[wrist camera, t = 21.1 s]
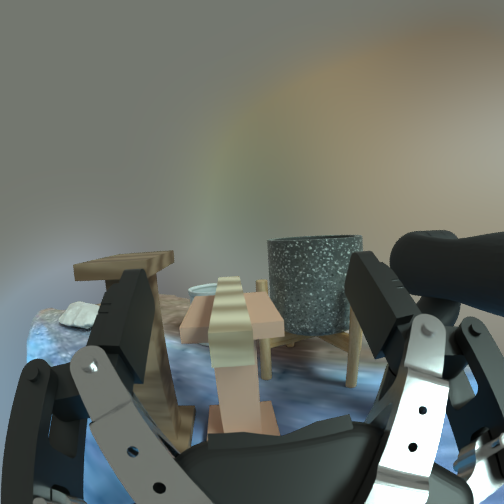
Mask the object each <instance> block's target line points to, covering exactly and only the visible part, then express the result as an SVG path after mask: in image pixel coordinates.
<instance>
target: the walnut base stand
mask: <svg viewBox="0 0 504 504" xmlns="http://www.w3.org/2000/svg"><path fill="white" fill-rule="evenodd" d="M172 263H174V253H173V250H172V251H157V252H144V253H130V254H118V255H114V256H109V257H105V258H100V259H96V260H92V261H87V262H83V263H79V264H75V265H73V268H74V276H75V281H90V280H105V283H106V290H108V289H109V288H110V287H111V285H112V284H114V283H119V281H120V278H121V276H122V273H123V271H124V270H126V269H142V268H143V269H144V270H145V272H146V275H147V279H148V282H149V285H150V288H151V291H152V294H153V297H154V301H155V315H154V320H153V326H152V332H151V337H150V343H149V350H148V356H147V363H146V370H145V377H144V384H134V385H133V392H134V393H135V394H136V396H137V397H138V399H139V400H140V402H141V403H142V405H143V406H144V408H145V409H146V411H147V412H148V414H149V415H150V416H151V418H152V419H153V421H154V422H155V423H156V425H157V426H158V427H159V429H160V430H161V431H162V432H163V434H164V435H165V436H166V437H167V438H168V439H169V441H170V442H171V443H172V444H173V445H174V447H175V448H176V449H177V450H178V451H179V453H182V452H183V451H185V450H186V449H188V448H190V447H191V441H192V434H193V427H194V421H195V414H196V409H195V406H178V403H177V399H176V394H175V390H174V385H173V380H172V375H171V370H170V365H169V360H168V354H167V349H166V343H165V337H164V330H163V324H162V317H161V310H160V302H159V294H158V286H157V277H156V273H157V272H158V271H160V270H162V269H164V268H165V267H167V266H169V265H170V264H172Z"/></svg>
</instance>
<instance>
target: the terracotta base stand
mask: <svg viewBox="0 0 504 504" xmlns="http://www.w3.org/2000/svg"><path fill="white" fill-rule="evenodd" d="M243 294H244V298H245V302H246V306H247V310H248V314H249V317H250V321H251V325H252V329H253V341H254V356H255V365H247V366H234V367H218V368H214V369H215V377H216V384H217V391H218V398H219V405H210V408H209V420H208V433H232V432H249V433H257V434H266V435H275V436H280V432H279V429H278V425H277V421H276V418H275V414H274V410H273V407H272V403H271V401H263V402H260V398H259V382H258V366H257V351H256V339H266V338H276V337H285V334H284V320H283V318H282V317H281V315H280V313H279V312H278V310H277V309H276V307H275V305H274V304H273V302H272V301H271V299H270V298H269V296H268V294H267V293H266V291H265V292H253V293H243ZM214 298H215V295H210V296H195V297H194V299H193V301H192V303H191V305H190V307H189V309H188V311H187V313H186V315H185V317H184V319H183V321H182V323H181V325H180V328H179V329H180V336H181V343H182V344H192V343H209V340H208V329H209V324H210V319H211V313H212V308H213V303H214ZM208 433H207V434H208ZM207 441H208V435H207Z"/></svg>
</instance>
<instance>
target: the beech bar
mask: <svg viewBox="0 0 504 504" xmlns="http://www.w3.org/2000/svg"><path fill="white" fill-rule="evenodd" d="M208 340H209V348H210V356H211V364H212V368H218V367H234V366H247V365H255V356H254V341H253V329H252V325H251V321H250V317H249V314H248V310H247V306H246V302H245V298H244V294H243V290H242V286H241V282H240V278H239V276H234V277H220V278H219V279H218V283H217V288H216V293H215V298H214V303H213V308H212V313H211V319H210V324H209V329H208Z"/></svg>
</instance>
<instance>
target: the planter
mask: <svg viewBox="0 0 504 504" xmlns="http://www.w3.org/2000/svg"><path fill="white" fill-rule="evenodd" d="M267 244H268V260H269V261H268V262H269V280H270V299H271V301H272V302H273V304H274V305H275V307H276V309H277V310H278V312H279V313H280V315H281V317H282V318H283V320H284V334H285V337H276V338H266V339H259V345H260V362H261V378H262V379H263V380H270V379H271V378H272V368H271V348H273V347H277V346H281V345H285V344H286V346H287V347H293V346H294V342H297V341H301V340H304V339H308V338H312V337H315V336H317V337H319V338H321V339H322V340H324V341H326V342H328V343H330V344H332V345H334V346H336V347H338V348H340V349H342V350H343V351H345V352H347V353H348V361H347V374H346V387H348V388H354V387H356V384H357V375H358V365H359V354H360V350H361V344H362V329H361V327H360V325H359V323H358V321H357V318H356V316H355V314H354V312H353V310H352V308H351V306H350V304H349V301H348V299H347V297H346V295H345V290H344V283H345V278H346V274H347V270H348V266H349V262H350V257H351V255H352V253H353V252H362V251H363V246H362V245H363V244H362V236H361V235H325V236H303V237H289V238H277V239H269V240H267ZM265 291H266V293H267V294H268V286H267V280H264V279H262V280H256V292H265ZM347 330H349V334H348V333H345V332H344V331H347Z"/></svg>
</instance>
